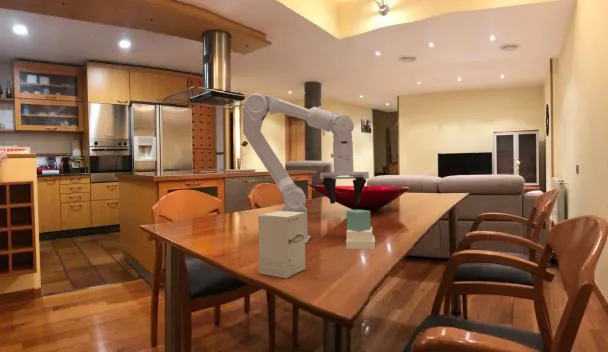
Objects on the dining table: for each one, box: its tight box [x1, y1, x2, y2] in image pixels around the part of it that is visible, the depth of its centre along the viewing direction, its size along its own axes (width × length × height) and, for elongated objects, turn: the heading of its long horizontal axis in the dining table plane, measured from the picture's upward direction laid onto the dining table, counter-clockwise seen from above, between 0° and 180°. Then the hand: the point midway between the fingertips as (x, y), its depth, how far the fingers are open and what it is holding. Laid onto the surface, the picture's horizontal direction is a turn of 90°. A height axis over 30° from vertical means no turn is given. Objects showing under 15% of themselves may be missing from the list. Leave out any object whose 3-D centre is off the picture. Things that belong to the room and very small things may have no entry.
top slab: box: [345, 226, 373, 241], centre depth 102 cm, size 6×6×2 cm
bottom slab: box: [345, 235, 376, 250], centre depth 102 cm, size 8×8×2 cm
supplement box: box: [257, 210, 306, 280], centre depth 80 cm, size 7×7×13 cm
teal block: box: [345, 208, 372, 232], centre depth 102 cm, size 4×4×5 cm
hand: (344, 203), depth 110 cm, fingers open, 7 cm apart
